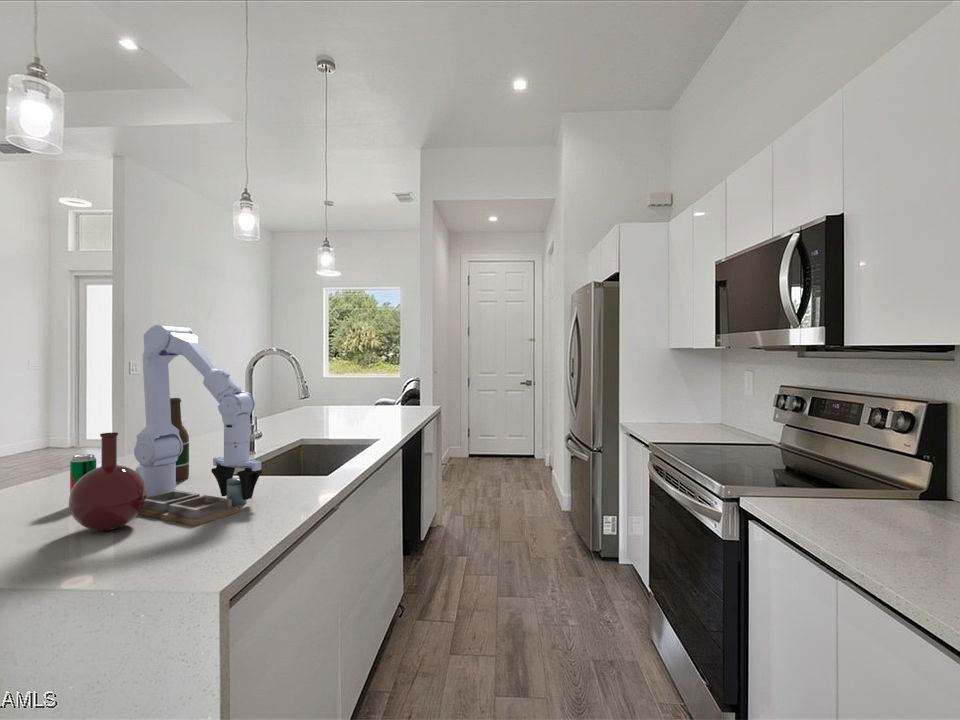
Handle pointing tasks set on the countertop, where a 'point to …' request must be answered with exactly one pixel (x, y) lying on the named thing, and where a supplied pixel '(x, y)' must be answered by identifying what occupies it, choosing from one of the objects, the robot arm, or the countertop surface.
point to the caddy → (187, 507)
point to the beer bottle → (183, 459)
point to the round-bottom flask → (107, 492)
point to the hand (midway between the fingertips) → (236, 497)
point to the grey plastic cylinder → (235, 492)
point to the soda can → (81, 467)
